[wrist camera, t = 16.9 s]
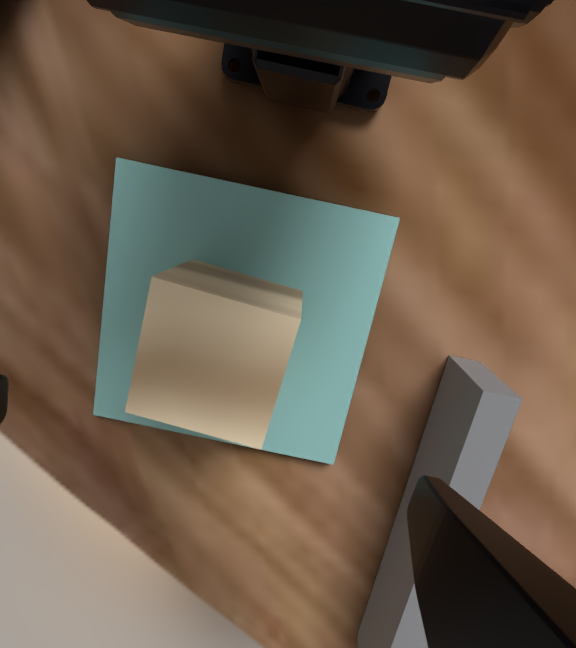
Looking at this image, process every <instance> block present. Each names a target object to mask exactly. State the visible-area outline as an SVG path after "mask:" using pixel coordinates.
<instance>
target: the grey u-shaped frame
mask: <svg viewBox="0 0 576 648" xmlns="http://www.w3.org/2000/svg"><path fill="white" fill-rule="evenodd" d="M521 402H522V398H521V397H520V396H518V395H517V394H516V393H515V392H514V391H513V390H512V389H511V388H509V387H508V386H507V385H506V384H505V383H504V382H503V381H501V380H500V379H499V378H498V377H497V376H496V375H495V374H494V373H492V372H491V371H490V370H489V369H488V368H487V367H486V366H485V365H483V364H482V363H481V362H479V361H474V360H469V359H464V358H460V357H455V356H450V355H449V357H448V360H447V363H446V366H445V369H444V372H443V375H442V378H441V381H440V384H439V387H438V390H437V393H436V396H435V400H434V403H433V406H432V409H431V412H430V415H429V418H428V421H427V424H426V427H425V430H424V433H423V436H422V439H421V442H420V445H419V448H418V451H417V454H416V457H415V460H414V463H413V466H412V470H411V473H410V476H409V479H408V482H407V485H406V488H405V491H404V494H403V497H402V500H401V503H400V506H399V509H398V512H397V515H396V518H395V521H394V524H393V527H392V530H391V533H390V537H389V540H388V543H387V546H386V549H385V552H384V555H383V558H382V561H381V564H380V567H379V570H378V573H377V576H376V579H375V582H374V585H373V588H372V591H371V594H370V597H369V600H368V603H367V607H366V610H365V613H364V616H363V619H362V622H361V625H360V628H359V631H358V634H357V642H358V648H428V645H427V640H426V636H425V631H424V627H423V622H422V618H421V613H420V609H419V604H418V600H417V595H416V590H415V584H414V577H413V569H412V560H411V551H410V543H409V534H408V525H407V507H408V504H409V501H410V499H411V496H412V493H413V491H414V488H415V485H416V483H417V480H418V478H419V477H420V476H421V475H428V476H432V477H436V478H440V479H441V480H443V481H444V482H445V483H446V484H448V485H449V486H450V487H451V488H453V489H454V490H455V491H456V492H458V493H459V494H460V495H461V496H462V497H464V498H465V499H466V500H467V501H469V502H470V503H471V504H472V505H473V506H475V507H476V508H477V509H478V510H480V507H481V504H482V502H483V499H484V497H485V494H486V492H487V489H488V487H489V484H490V481H491V479H492V476H493V474H494V471H495V469H496V466H497V464H498V461H499V458H500V456H501V453H502V451H503V448H504V446H505V443H506V440H507V438H508V435H509V433H510V430H511V428H512V425H513V423H514V420H515V417H516V415H517V412H518V410H519V407H520V405H521Z"/></svg>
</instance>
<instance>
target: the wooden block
mask: <svg viewBox="0 0 576 648" xmlns="http://www.w3.org/2000/svg"><path fill="white" fill-rule="evenodd" d="M302 296H303V291H301V290H298V289H294V288H291V287H288V286H284V285H281V284H277V283H274V282H270V281H267V280H263V279H260V278H257V277H253V276H250V275H246V274H243V273H239V272H236V271H233V270H229V269H226V268H222V267H219V266H215V265H212V264H208V263H205V262H202V261H198V260H195V259H191V260H189V261H187V262H184V263H182V264H180V265H177V266H175V267H173V268H170V269H168V270H166V271H164V272H161V273H159V274H157V275H154V276H152V278H151V283H150V288H149V293H148V298H147V303H146V308H145V313H144V318H143V323H142V328H141V333H140V338H139V343H138V348H137V353H136V358H135V363H134V369H133V374H132V379H131V384H130V389H129V394H128V399H127V404H126V409H125V412H127V413H130V414H134V415H138V416H141V417H145V418H148V419H152V420H156V421H159V422H163V423H166V424H170V425H174V426H177V427H181V428H184V429H188V430H192V431H195V432H199V433H202V434H206V435H210V436H213V437H217V438H220V439H224V440H228V441H231V442H235V443H238V444H242V445H246V446H249V447H253V448H256V449H260V450H261V449H262V446H263V443H264V440H265V436H266V433H267V430H268V427H269V423H270V420H271V417H272V413H273V410H274V407H275V404H276V400H277V397H278V394H279V390H280V387H281V384H282V381H283V377H284V374H285V371H286V367H287V364H288V361H289V358H290V354H291V351H292V348H293V345H294V341H295V338H296V335H297V331H298V328H299V325H300V322H301V312H302Z"/></svg>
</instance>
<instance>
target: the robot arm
mask: <svg viewBox="0 0 576 648" xmlns="http://www.w3.org/2000/svg"><path fill="white" fill-rule="evenodd" d="M87 1H88V3H89V4H90V5H91V6H92V7H94V8H96V9H101V10H106V11H111V12H112V13H113V14H114V15H115V16H116V17H117V18H119V19H122V20H124V21H126V22H129V23H131V24H133V25H136V26H140V27H145V28H150V29H155V30H160V31H165V32H170V33H176V34H181V35H186V36H191V37H196V38H201V39H206V40H211V41H217V42H222V43H225V44H224V51H223V58H222V70H223V72H224V74H225V76H226V77H227V78H228V79H229V80H230V81H232V82H234V83H239V84H244V85H248V86H253V87H257V88H262V89H263V91H264V93H265V95H266V96H267V98H268V99H269V100H272V101H277V102H281V103H286V104H290V105H295V106H300V107H304V108H309V109H313V110H318V111H323V112H330V111H331V110H333V109H334V108H335V107H336V105H340V106H345V107H350V108H354V109H359V110H363V111H368V112H374V111H376V110H378V109H379V108H380V107H381V106H382V105H383V103H384V101H385V99H386V95H387V91H388V87H389V83H390V79H391V76H396V77H401V78H406V79H411V80H416V81H421V82H427V83H434V82H438V81H442V80H443V79H444V78H445V77H449V78H454V79H460V80H462V79H465V78H466V77H467V76H469V75H470V74H472V73H473V72H474V71H476V70H477V69H479V68H480V66H481V65H482V64H483V63H484V62H485V61H486V60H487V58H488V57H489V56H490V55H491V54H492V53H493V51H494V50H495V49H496V48H497V46H498V45H499V43H500V42H501V40H502V39H503V37H504V36H505V34H506V33H507V31H508V30H509V28H510V27H520V26H523V25H526V24H528V23H529V22H530V21H531V20H532V19H534V18H535V17H536V16H537V15H538V14H539V13H540V12H541V11H542V10H543V9H544V8H545V7H547V6H548V5H550V4H551V3H552V2H553V1H554V0H87ZM235 61H238V62H239V63H241V68H240V70H239V71H238V72H236V73H233V72H231V71H230V65H231V63H233V62H235ZM370 91H374V92H376V93H377V95H378V101H376V102H374V103H371V102H369V101H368V99H367V93H368V92H370ZM8 386H9V382H8V378H7V377H6V376H5V375H2V374H0V424H1V423H2V421H3V420H4V418H5V416H6V412H7V402H8ZM407 525H408V534H409V543H410V551H411V560H412V569H413V577H414V584H415V590H416V595H417V600H418V604H419V609H420V613H421V618H422V622H423V627H424V631H425V636H426V640H427V645H428V648H576V589H575V588H574V587H573V586H572V585H570V584H569V583H568V582H567V581H566V580H564V579H563V578H562V577H561V576H559V575H558V574H557V573H556V572H555V571H553V570H552V569H551V568H550V567H548V566H547V565H546V564H545V563H543V562H542V561H541V560H540V559H539V558H537V557H536V556H535V555H534V554H532V553H531V552H530V551H529V550H528V549H526V548H525V547H524V546H523V545H521V544H520V543H519V542H518V541H516V540H515V539H514V538H513V537H512V536H510V535H509V534H508V533H507V532H505V531H504V530H503V529H502V528H500V527H499V526H498V525H497V524H496V523H494V522H493V521H492V520H491V519H489V518H488V517H487V516H486V515H485V514H483V513H482V512H481V511H480V510H478V509H477V508H476V507H475V506H473V505H472V504H471V503H470V502H469V501H467V500H466V499H465V498H464V497H462V496H461V495H460V494H459V493H458V492H456V491H455V490H454V489H453V488H451V487H450V486H449V485H448V484H446V483H445V482H444V481H443V480H441V479H440V478H436V477H432V476H428V475H421V476H420V477H419V478H418V480H417V483H416V485H415V488H414V491H413V493H412V496H411V499H410V501H409V504H408V507H407Z"/></svg>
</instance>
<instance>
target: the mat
mask: <svg viewBox="0 0 576 648" xmlns="http://www.w3.org/2000/svg"><path fill="white" fill-rule="evenodd" d="M399 220H400V218H397V217H393V216H388V215H383V214H379V213H374V212H369V211H365V210H360V209H355V208H351V207H346V206H341V205H337V204H332V203H327V202H323V201H318V200H313V199H309V198H304V197H299V196H295V195H290V194H285V193H281V192H276V191H271V190H267V189H262V188H257V187H253V186H248V185H243V184H239V183H234V182H229V181H225V180H220V179H215V178H211V177H206V176H201V175H197V174H192V173H187V172H183V171H178V170H173V169H169V168H164V167H159V166H155V165H150V164H145V163H141V162H136V161H131V160H127V159H122V158H117V157H116V165H115V176H114V188H113V199H112V210H111V221H110V232H109V244H108V255H107V266H106V277H105V288H104V300H103V311H102V322H101V333H100V345H99V356H98V367H97V378H96V389H95V401H94V412H93V415H96V416H101V417H106V418H111V419H116V420H121V421H125V422H130V423H135V424H140V425H145V426H149V427H154V428H159V429H164V430H169V431H173V432H178V433H183V434H188V435H193V436H198V437H202V438H207V439H212V440H217V441H222V442H226V443H231V444H236V445H241V446H246V445H242V444H238V443H235V442H231V441H228V440H224V439H220V438H217V437H213V436H210V435H206V434H202V433H199V432H195V431H192V430H188V429H184V428H181V427H177V426H174V425H170V424H166V423H163V422H159V421H156V420H152V419H148V418H145V417H141V416H138V415H134V414H130V413H127V412H125V409H126V404H127V399H128V394H129V389H130V384H131V379H132V374H133V369H134V363H135V358H136V353H137V348H138V343H139V338H140V333H141V328H142V323H143V318H144V313H145V308H146V303H147V298H148V293H149V288H150V283H151V278H152V276H154V275H157V274H159V273H161V272H164V271H166V270H168V269H170V268H173V267H175V266H177V265H180V264H182V263H184V262H187V261H189V260H191V259H195V260H198V261H202V262H205V263H208V264H212V265H215V266H219V267H222V268H226V269H229V270H233V271H236V272H239V273H243V274H246V275H250V276H253V277H257V278H260V279H263V280H267V281H270V282H274V283H277V284H281V285H284V286H288V287H291V288H294V289H298V290H301V291H303V296H302V312H301V322H300V325H299V328H298V331H297V335H296V338H295V341H294V345H293V348H292V351H291V354H290V358H289V361H288V364H287V367H286V371H285V374H284V377H283V381H282V384H281V387H280V390H279V394H278V397H277V400H276V404H275V407H274V410H273V413H272V417H271V420H270V423H269V427H268V430H267V433H266V436H265V440H264V443H263V446H262V449H261V450H265V451H270V452H275V453H279V454H284V455H289V456H294V457H299V458H303V459H308V460H313V461H318V462H323V463H328V464H332V465H334V461H335V457H336V454H337V450H338V446H339V442H340V439H341V435H342V431H343V428H344V424H345V420H346V416H347V413H348V409H349V405H350V402H351V398H352V394H353V391H354V387H355V383H356V379H357V376H358V372H359V368H360V365H361V361H362V357H363V353H364V350H365V346H366V342H367V339H368V335H369V331H370V328H371V324H372V320H373V316H374V313H375V309H376V305H377V302H378V298H379V294H380V290H381V287H382V283H383V279H384V276H385V272H386V268H387V264H388V261H389V257H390V253H391V250H392V246H393V242H394V239H395V235H396V231H397V227H398V224H399ZM246 447H249V446H246ZM251 448H253V447H251ZM255 449H256V448H255Z"/></svg>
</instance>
